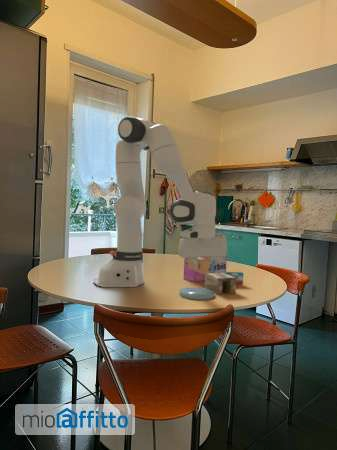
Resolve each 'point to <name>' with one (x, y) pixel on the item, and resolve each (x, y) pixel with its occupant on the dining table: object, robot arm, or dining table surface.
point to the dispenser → (220, 282)
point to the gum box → (215, 266)
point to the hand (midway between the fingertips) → (202, 268)
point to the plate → (196, 293)
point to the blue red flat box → (236, 274)
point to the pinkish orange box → (203, 265)
